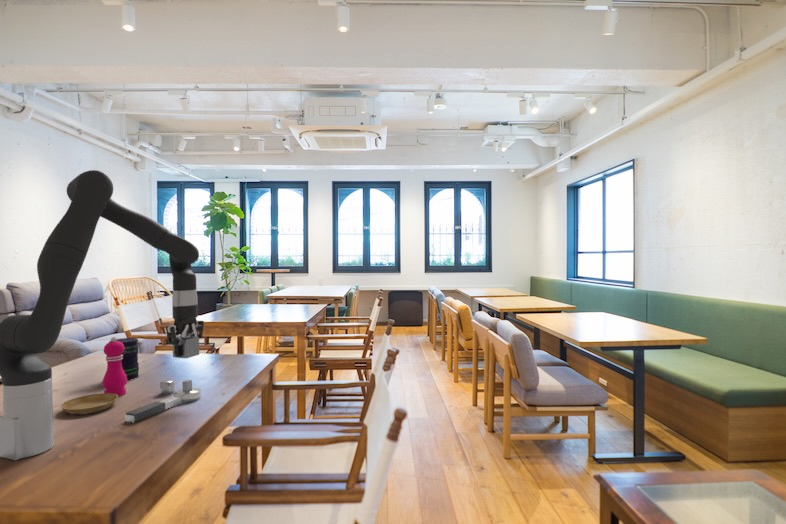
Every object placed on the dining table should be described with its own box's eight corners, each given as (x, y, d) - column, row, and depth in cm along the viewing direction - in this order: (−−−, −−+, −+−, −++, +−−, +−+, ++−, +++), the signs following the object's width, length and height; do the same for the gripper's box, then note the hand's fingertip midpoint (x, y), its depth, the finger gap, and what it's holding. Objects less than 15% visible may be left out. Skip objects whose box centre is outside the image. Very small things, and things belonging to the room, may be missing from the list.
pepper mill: (115, 398, 143) (113, 339, 143) (97, 397, 144) (95, 338, 144) (132, 391, 150) (131, 335, 150) (115, 390, 152) (113, 334, 151)
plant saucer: (129, 402, 139) (129, 394, 139) (86, 419, 125) (85, 410, 125) (94, 399, 143) (94, 391, 143) (48, 415, 129) (48, 406, 129)
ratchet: (139, 424, 120) (139, 402, 120) (119, 420, 123) (118, 400, 123) (206, 396, 144) (205, 378, 144) (187, 394, 147) (187, 376, 147)
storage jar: (128, 381, 163) (127, 342, 162) (103, 382, 163) (102, 343, 163) (144, 374, 173) (143, 337, 172) (120, 374, 173) (119, 338, 173)
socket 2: (186, 358, 138) (185, 337, 138) (172, 357, 140) (172, 336, 140) (199, 354, 143) (198, 334, 143) (186, 353, 145) (185, 333, 145)
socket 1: (167, 395, 146) (166, 383, 146) (157, 394, 147) (157, 382, 147) (177, 391, 150) (177, 380, 150) (168, 390, 151) (167, 379, 151)
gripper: (193, 301, 149) (194, 349, 149) (157, 305, 136) (159, 358, 136) (210, 301, 147) (211, 350, 147) (176, 306, 133) (177, 360, 133)
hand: (186, 354), depth 141 cm, fingers closed on socket 2, 5 cm apart
